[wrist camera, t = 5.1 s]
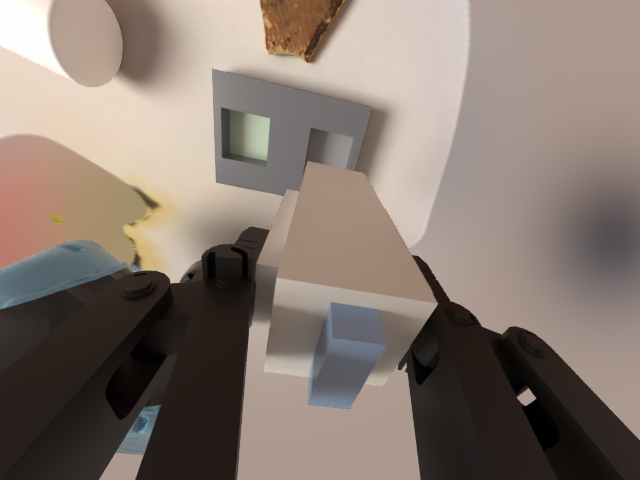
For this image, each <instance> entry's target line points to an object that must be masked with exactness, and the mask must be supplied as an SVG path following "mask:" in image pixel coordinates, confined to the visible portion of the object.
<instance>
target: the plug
mask: <svg viewBox="0 0 640 480" xmlns="http://www.w3.org/2000/svg"><path fill="white" fill-rule="evenodd" d="M437 305H438V303H437V301H436V299H435V297H434V296H433V294H432V292H431V290H430V289H429V287H428V285H427V283H426V282H425V280H424V278H423V276H422V274H421V273H420V271H419V269H418V267H417V266H416V264H415V262H414V260H413V259H412V257H411V255H410V253H409V251H408V250H407V248H406V246H405V244H404V243H403V241H402V239H401V237H400V236H399V234H398V232H397V230H396V228H395V227H394V225H393V223H392V221H391V220H390V218H389V216H388V214H387V213H386V211H385V209H384V207H383V205H382V204H381V202H380V200H379V198H378V197H377V195H376V193H375V191H374V190H373V188H372V186H371V184H370V182H369V181H368V179H367V177H366V175H365V174H364V173H362V172H357V171H352V170H348V169H343V168H338V167H333V166H329V165H324V164H319V163H314V162H310V161H307V165H306V168H305V172H304V176H303V180H302V183H301V187H300V191H299V195H298V198H297V202H296V206H295V210H294V213H293V217H292V221H291V225H290V228H289V232H288V236H287V240H286V243H285V247H284V251H283V255H282V259H281V262H280V266H279V270H278V274H277V277H276V284H275V292H274V299H273V306H272V314H271V321H270V329H269V336H268V343H267V351H266V358H265V366H264V372H271V373H278V374H286V375H294V376H303V377H309V388H308V405H315V406H324V407H333V408H342V409H350V408H351V406H352V404H353V402H354V401H355V399H356V397H357V395H358V394H359V392H360V390H361V389H362V387H363V385H364V384H368V385H376V386H384V384H385V383H386V381H387V380H388V378H389V377H390V375H391V374H392V372H393V371H394V369H395V368H396V366H397V364H398V363H399V362H400V360H401V359H402V357H403V356H404V354H405V353H406V351H407V350H408V348H409V347H410V345H411V344H412V342H413V341H414V339H415V338H416V336H417V335H418V333H419V332H420V330H421V329H422V327H423V326H424V324H425V323H426V321H427V320H428V318H429V317H430V315H431V314H432V312H433V311H434V309H435V308H436V306H437Z"/></svg>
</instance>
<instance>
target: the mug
mask: <svg viewBox="0 0 640 480" xmlns="http://www.w3.org/2000/svg"><path fill="white" fill-rule="evenodd" d="M0 46H2V47H4V48H6V49H8V50H10V51H12V52H14V53H16V54H18V55H20V56H22V57H24V58H26V59H29V60H31V61H33V62H35V63H37V64H39V65H41V66H43V67H45V68H47V69H49V70H51V71H53V72H55V73H57V74H59V75H62V76H64V77H66V78H68V79H70V80H72V81H74V82H76V83H78V84H80V85H83V86H87V87H99V86H103V85H105V84H107V83H108V82H110V81H111V80H112V79H113V78H114V76H115V75H116V73H117V72H118V70H119V67H120V64H121V61H122V55H123V41H122V34H121V30H120V27H119V24H118V21H117V19H116V17H115V15H114V13H113V11H112V9H111V8H110V6H109V5H108V4H107V2H106V1H105V0H0Z"/></svg>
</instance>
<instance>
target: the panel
mask: <svg viewBox="0 0 640 480" xmlns="http://www.w3.org/2000/svg"><path fill="white" fill-rule="evenodd" d="M212 81H213V109H214V137H215V166H216V183H221V184H226V185H231V186H237V187H242V188H247V189H252V190H257V191H262V192H267V193H272V194H277V195H282V196H284V195H285V193H286V190H287V189H289V190H294V191H300V187H301V183H302V180H303V176H304V172H305V168H306V165H307V161H310V162H314V163H319V164H324V165H329V166H333V167H338V168H343V169H348V170H352V171H355V168H356V165H357V161H358V157H359V154H360V150H361V147H362V143H363V140H364V136H365V132H366V129H367V125H368V122H369V118H370V115H371V111H372V107H369V106H365V105H361V104H357V103H353V102H349V101H344V100H340V99H336V98H332V97H328V96H324V95H320V94H315V93H311V92H307V91H303V90H299V89H295V88H290V87H286V86H282V85H278V84H274V83H270V82H265V81H261V80H257V79H253V78H249V77H245V76H240V75H236V74H232V73H228V72H224V71H220V70H216V69H212Z"/></svg>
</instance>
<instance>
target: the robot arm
mask: <svg viewBox="0 0 640 480" xmlns="http://www.w3.org/2000/svg"><path fill="white" fill-rule="evenodd" d="M298 195H299V191H294V190H289V189H287V190H286V193H285V195H284V198H283V200H282V202H281V205H280V207H279V210H278V212H277V214H276V217H275V219H274V222H273V224H272V227H271V229H270V230H266V229H261V228H255V227H250V228H248V229H246V230H245V231H243V232H242V233H241V235H240V237H239V238H238V240H237V241H236V243H235V245H234V244H222V245H218V246H214V247H212V248H210V249H208V250H207V251H205V253H204V254H203V255H202V256H201V257H202V260H201V261H198V262H196V263H195V264H193V265H192V266H191V267H190V268H189V269H188V270H187V272H186V273H185V274H184V275H183V277H182V278H181V280H180V283H172V284H170V279H169V278H168V277H167V276H166V275H165V274H164V273H161V272H158V271H140V272H133V271H132V270H131V269H130V268H129V267H128V266H129V264H127V263H126V262H122V261H120V260H119V259H118V258H116V257H115V256H114V255H112V254H111V253H110V252H108V251H107V250H106V249H104V248H103V247H102V246H100V245H99V244H97V243H95V242H92V241H87V240H75V241H70V242H66V243H63V244H61V245H58V246H56V247H53V248H50V249H47V250H45V251H42V252H40V253H38V254H35V255H33V256H30V257H28V258H25V259H23V260H20V261H18V262H16V263H13V264H11V265H9V266H6V267H4V268H1V269H0V480H99V478H100V477H101V475H102V474H103V472H104V470H105V469H106V467H107V466H108V464H109V462H110V461H111V459H112V458H113V456H114V454H115V453H116V452H117V453H127V454H139V455H144V456H143V459H142V462H141V465H140V468H139V471H138V474H137V477H136V480H237V473H238V461H239V448H240V435H241V424H242V411H243V398H244V387H245V373H246V362H247V349H248V337H249V328H250V326H251V325H258V326H266V327H270V321H271V314H272V306H273V299H274V292H275V284H276V277H277V274H278V270H279V266H280V262H281V259H282V255H283V251H284V247H285V243H286V240H287V236H288V232H289V228H290V225H291V221H292V217H293V213H294V210H295V206H296V202H297V198H298ZM385 211H386V209H385ZM386 213H387V211H386ZM387 214H388V213H387ZM388 216H389V215H388ZM389 218H390V216H389ZM390 220H391V218H390ZM391 221H392V220H391ZM392 223H393V222H392ZM393 225H394V223H393ZM394 227H395V225H394ZM395 228H396V227H395ZM396 230H397V229H396ZM397 232H398V230H397ZM398 234H399V232H398ZM399 236H400V234H399ZM400 237H401V236H400ZM401 239H402V237H401ZM402 241H403V239H402ZM403 243H404V241H403ZM404 244H405V243H404ZM405 246H406V244H405ZM406 248H407V246H406ZM407 250H408V248H407ZM408 251H409V250H408ZM409 253H410V251H409ZM410 255H411V253H410ZM411 257H412V259H413V260H414V262H415V264H416V266H417V267H418V269H419V271H420V273H421V274H422V276H423V278H424V280H425V282H426V283H427V285H428V287H429V289H430V290H431V292H432V294H433V296H434V297H435V299H436V301H437V303H438V305H437V306H436V308H435V309H434V311H433V312H432V314H431V315H430V317H429V318H428V320H427V321H426V323H425V324H424V326H423V327H422V329H421V330H420V332H419V333H418V335H417V336H416V338H415V339H414V341H413V342H412V344H411V345H410V347H409V349H408V350H407V352H406V353H405V355H404V356H403V358H402V359H401V361H400V362H399V364H398V370H401V369H402V368H403V366H404V365H405V363H407V368H406V370H405V372H407V373H408V379H409V387H410V396H411V404H412V412H413V420H414V428H415V436H416V444H417V453H418V461H419V468H420V477H421V480H640V440H639V439H638V438H637V437H636V436H635V435H634V434H633V433H632V432H631V431H630V430H629V429H628V428H627V427H626V426H625V425H624V423H622V421H621V420H620V419H619V418H618V417H617V416H616V415H615V414H614V413H613V412H612V411H611V410H610V409H609V408H608V407H607V406H606V405H605V404H604V402H602V400H601V399H600V398H599V397H598V396H597V395H596V394H595V393H594V392H593V391H592V390H591V389H590V388H589V387H588V386H587V385H586V384H585V383H584V382H583V380H582V379H581V378H580V377H579V376H578V375H577V374H576V373H575V372H574V371H573V370H572V369H571V368H570V367H569V366H568V365H567V364H566V363H565V362H564V361H563V360H562V358H561V357H560V356H559V355H558V354H557V353H556V352H555V351H554V350H553V349H552V348H551V347H550V346H549V345H548V344H547V343H546V342H544V341H543V340H542V339H541V338H539V337H538V336H537V335H535V334H534V333H532V332H529V331H528V330H525V329H523V328H519V327H509V328H508V329H507V330H506V331H505V333H503V334H502V335H501V334H499V333H496V332H494V331H491V330H488V329H486V328H484V327H482V326H481V324H480V323H479V321H478V320H477V318H476V317H475V316H474V315H473V314H472V313H471V312H470V311H469V310H467V309H466V308H464V307H462V306H461V305H459V304H457V303H454V302H450V300H449V298H448V296H447V295H446V293H445V292H444V291H443V288H442V287H441V285H440V284H439V282H438V281H437V280H436V277H435V276H434V274H433V273H432V271H431V270H430V268H429V266H428V265H427V264H426V263H425V262H424V261H423V260H422V259H421V258H420V257H419V256H414V255H411ZM528 388H529V389H530V390H531V392H532V393H533V394H534V396H535V397H536V398H537V399H536V400H534V401H533V402H531V403H530V404H528V405H527V406H525V405H523V404H522V403H520V401H519V400H518V399H517V397H518V396H519V395H520V394H522V393H523V392H524V391H526V390H527V389H528Z"/></svg>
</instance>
